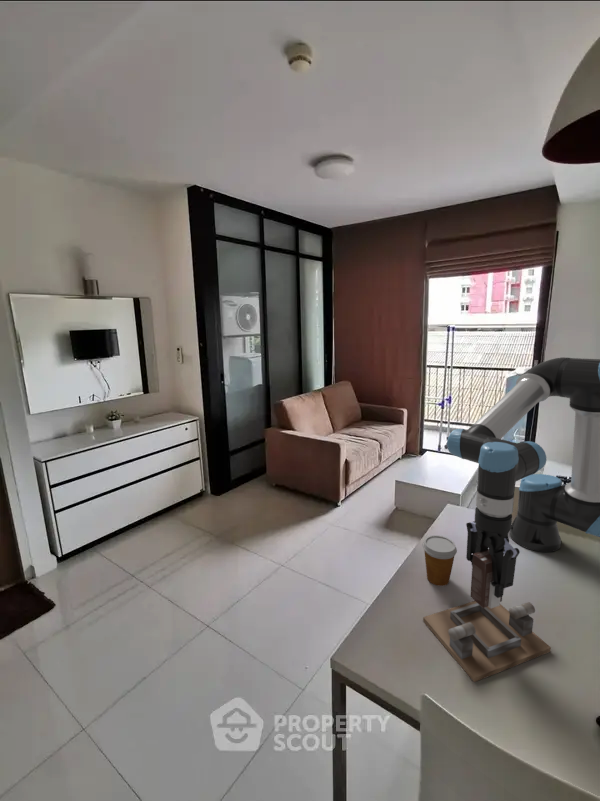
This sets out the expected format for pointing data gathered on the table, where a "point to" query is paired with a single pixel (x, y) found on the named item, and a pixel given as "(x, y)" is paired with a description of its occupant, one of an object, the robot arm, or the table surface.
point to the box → (481, 578)
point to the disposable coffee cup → (439, 559)
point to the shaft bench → (487, 637)
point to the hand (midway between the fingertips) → (485, 598)
